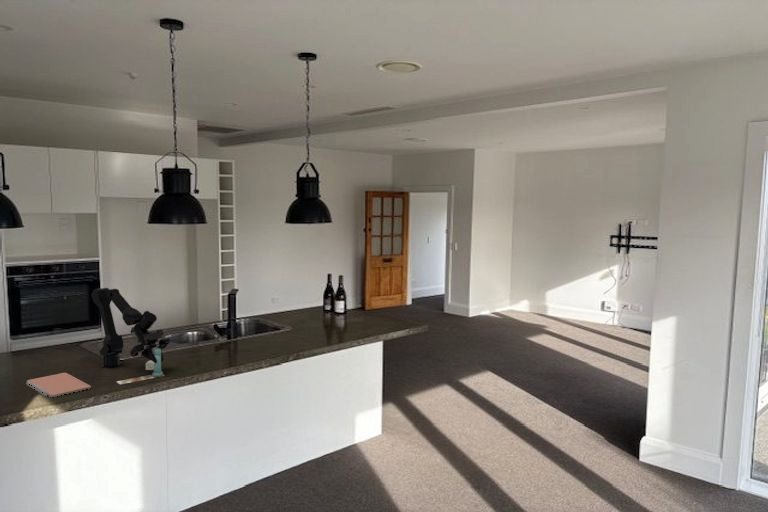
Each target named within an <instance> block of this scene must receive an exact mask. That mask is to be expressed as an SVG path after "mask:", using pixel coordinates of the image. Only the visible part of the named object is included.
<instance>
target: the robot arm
mask: <svg viewBox="0 0 768 512" xmlns="http://www.w3.org/2000/svg"><path fill="white" fill-rule="evenodd" d="M90 296H91V298H92V301H93V303H94V304H95V305H96V306H97V307H98V310H99V314H100V318H101V322H102V327H103V331H104V332H103V333H104V338H103V341H102V342H103V346H102V347H101V348H100V350H99V355H100V356H101V357H102V356H103V359H102V361H103V363H102V364H103V365H102V366H101V368H102V369H115V368H117V367H118V366H120V365H121V357H120V354H122V352H123V349H124V346H125V345H124V343H125V342H124V340H123V336H122V334H121V335H119V334H118V333H117V330H116V325H115V321H114V317H113V313H112V308H111V303H113V304H114V306H115V307H116V308H117V309H118V310H119V312H120V313H121V314H122V315H121V316H122V317H121V318H122V320H123V322H124V324H125V325H126V326H129V327H130V326H131V329H130V334H133V333H134V335H135V336H136V338H137V343H138V344H136V345H134V346H133V347H132V349H130V351H129V353H130V356H131V357H132V358H135V357H137V356H139V353H140V356H141V357H144V358H146V359H148V361H149V360H151V361H153V362H155V363H157V359H156V358H155V356H154V351H153V350H154V349H156V348H160V349H161V362H163V361H164V356H163V355H164V354H163V350H164V349H166V348H167V347H168V345H169V344H170V343H171V340H170V338H168V337H164V338H163V336H164V335H165V333H164V332H165V331H164V330H163V329H161V328H160V329H158V330H156V331H154V332H152V331H149V329H151V328H152V326H153V325H154V324H155V323H156V321H157V320H158V317H157V315H156V314H154V313H153V312H150V311H149V310H145V311H143V313H141V312H140V311H139V310H138V309H137V308H134V307H132V306H131V305H130V304H129V302H128V301H127V300H126V299H125V298H124V296H123V295H122V294H121V293H120V290H119V289H117V288H108V287H103V288H94V289H93V290H92V292H91V295H90ZM152 349H153V350H152Z"/></svg>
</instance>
